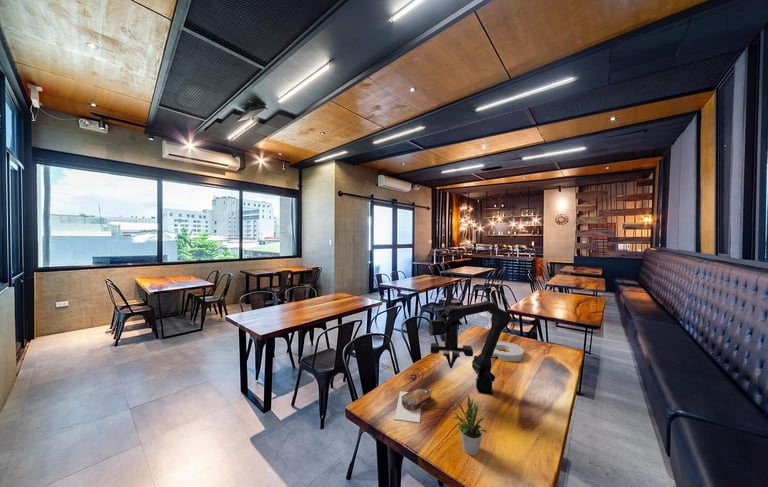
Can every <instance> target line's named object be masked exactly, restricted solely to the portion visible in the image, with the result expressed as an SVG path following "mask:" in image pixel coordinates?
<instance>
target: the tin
mask: <svg viewBox="0 0 768 487" xmlns="http://www.w3.org/2000/svg"><path fill="white" fill-rule="evenodd" d="M407 392H408V393H407V394H405V395H403V396H402V405H403V406H404V407H405V408H407V409H409V410H416V409H419V408H420V407H421V408H422V407H423V406H425V405H427V404H428V403H430V402H431V400H432V392H431V391H430V390H429V389H427V388H424V387H417V388H414V389H413V390H410V391H407Z"/></svg>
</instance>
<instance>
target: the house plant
mask: <svg viewBox="0 0 768 487" xmlns="http://www.w3.org/2000/svg"><path fill="white" fill-rule="evenodd" d="M451 401H454V402H455V403H456V404H457V405H458V406H459V408H460V410H461V411H459V410H451V412H452V413H454V415H456V416H454V417H453V418H452V420H459V421H460V423H458V424H456V426H458V429H457V431H459V430H460V436H461V437H460V438H461V443H462V449H463V451H464V452H465V453H466V454H469V455H472V456H476V455H478V454H479V452H480V447H481V442H482V438H483V432H484V433H486V434H488V432H487V430H486V429H483V427H482V426H481V425H480V423H481V422H482V421H484V420H488V419H490V417H488V416H486V417H483V416H484V415H485V414H486V412H487V411H488V409H487V410H486V411H485V412H483V414H482V415H481V416H480V417H479V418H478V419H477V417H478V416H477V415H478V411H479V403H478V401H477V402H476V401H475V399H472V400H471V398H470V395H469V393H467V409H466V411H464V408H463V406H462V405H461V404H460V403H459V402H457V400H454V399H451ZM473 404H474V405H473ZM462 413H463V414H462ZM460 416H461V417H460ZM476 420H477V421H476Z"/></svg>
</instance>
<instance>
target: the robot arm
mask: <svg viewBox="0 0 768 487" xmlns="http://www.w3.org/2000/svg"><path fill="white" fill-rule="evenodd" d="M485 312H487V313H489V314H490V315H491V318H490V322H491V323H490V324H491V327H490V329H489V331H488V334H487V336H486V338H485V341H484V343H485V344H484V343H483V345H484V346H482V349H481V352H480V354H478V355H476V354H475V355H474V349H473V347H472V346H471V345H465V344H464V345H462V347H458V345H459V344H458V342H459V326H463V322H461V320H462V319H463V318H465V317H466V316H470V315H476V314H480V313H485ZM511 320H512V316H511V314H510V312H508V311H506V310H504V309H502V308H500V307H498V306H497V305H495V304H494V302H491V301H489V300H485V301H481V302H477V303H471V304H467V305H447V306H445V308H444V310H443V312H442V313H441V315H440V316H439V318H438V319H430V320H429V323H428V326H427V327H428V334H429V336H431V337H435V336H441V337H440V340H441V341H440V342H444V346H443V345H440V343H439V342H438V343H437V342H431V343H430V354H434V355H435V354H437V355H438V354H439V353H440V351H441V352H442V355H443V357H446V360H447V363H448V366H449V368H450V369H452V368H453V367H454V364H455V362H456V361H457V359H458V358H461V356H460V353H463V354H464V356H465V357H473V360H472V362H471V363H472V364H471V367H472V370H474V372H475V374H476V376H477V377H476V378H475V389H476V390H477V392H478V393H479V394H487V395H493V394H494V392H493V382H495V379H496V375H494V374H493V373H492V372H491V371H492V355H493V352H494V350H495V347H496V345H497V342H498V341H500V340H499V339H500V336H501V334H502V332H503V330H505V329H506V328H507V327H508V326H509V324H510V322H511ZM450 352H451V354H450ZM478 393H477V394H478Z"/></svg>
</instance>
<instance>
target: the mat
mask: <svg viewBox="0 0 768 487" xmlns="http://www.w3.org/2000/svg"><path fill="white" fill-rule="evenodd" d="M408 392H409V391H401V390H400V391H399V396H398V399H397V405H396V409H395V414H394V418H393V420H395V421H401V422H409V423H419V424H420V423H421V412H422V409H421V408H422V407H420V408H419V409H416V410H409V409H407V408H405V407H404V406H403V405H402V396H403V395H405V394H407V393H408Z"/></svg>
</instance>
